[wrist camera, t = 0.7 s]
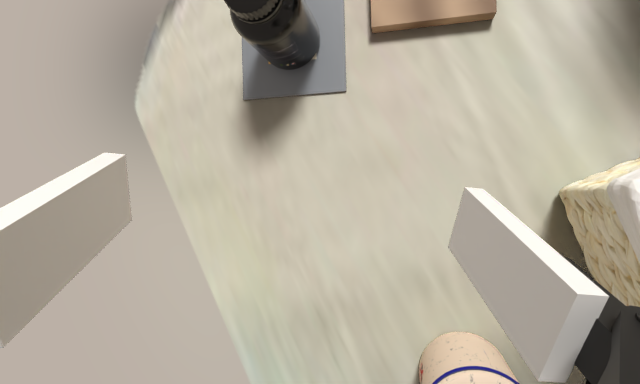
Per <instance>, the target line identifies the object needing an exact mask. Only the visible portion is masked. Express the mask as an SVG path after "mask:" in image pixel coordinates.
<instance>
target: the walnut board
mask: <svg viewBox="0 0 640 384" xmlns="http://www.w3.org/2000/svg"><path fill="white" fill-rule="evenodd" d="M496 12H497V11H496V0H371V28H372V33H380V32H388V31H397V30H405V29H414V28H422V27H430V26H439V25H447V24H456V23H464V22H473V21H481V20H490V19H493V18H494V16H495V14H496Z"/></svg>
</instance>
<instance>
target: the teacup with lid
mask: <svg viewBox="0 0 640 384" xmlns="http://www.w3.org/2000/svg"><path fill="white" fill-rule="evenodd" d="M419 379H420V384H519V382H518V381H517V379H516V377H515V376H514V374H513V373H512V371H511V369H510V368H509V366H508V365H507V363H506V361H505V360H504V358H503V356H502V355H501V353H500V352H499V351H498V350H497V349H496V347H495V346H493V345H492V344H491V343H490V342H489V341H487V340H486V339H484V338H482V337H480V336H478V335H475V334H472V333H468V332H450V333H446V334H443V335H441V336H439V337H437V338H436V339H434V340H433V341H432V342H431V343H430V344H429V345H428V346H427V347H426V348H425V350H424V352H423V354H422V356H421V359H420V363H419Z"/></svg>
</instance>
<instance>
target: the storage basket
mask: <svg viewBox="0 0 640 384" xmlns="http://www.w3.org/2000/svg"><path fill="white" fill-rule="evenodd" d="M559 195H560V198H561V199H562V201H563V203H564V205H565V210H566V212H567V217H568V220H569V222H570V223H571V225H572V226H573V230H574V233H575V236H576V239H577V240H578V242H579V244H580V246H581V249H582V251H583V252H584V256H585V261H586V265H587V267H588V269H589V271H590V273H591V274H592V276H593V278H594V279H595V280H596V281H597V282H598V283H599V284H600V285H602V286H603V287H604V288H605V289H606V290H608V291H609V292H610V293H611V294H612V295H613V296H615V297H616V298H617V299H618V300H619V301H621V302H622V303H623V304H624V305H625V306H630V305H631V306H638V307H640V157H639V158H638V159H636V160H630V161H627V162H624V163H621V164H618V165H616V166H614V167H612V168H610V169H608V170H607V171H604V172H600V173H596V174H594V175H591V176H589V177H587V178H585V179H584V180H579V181H576V182H574V183H571V184H569V185H567V186H565V187H564V188H562V189H561V190H560V191H559Z"/></svg>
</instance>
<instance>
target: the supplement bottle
mask: <svg viewBox="0 0 640 384" xmlns="http://www.w3.org/2000/svg"><path fill="white" fill-rule="evenodd" d="M224 1H225V3H226V4H227V6H228V7H229V8H230V15H231V20H232V23H233V25H234V27H235V29H236V30H237V32H238V33H239V34H240V35H241V36H242V37H243V38H244V39H245V40H246V41H247V42H248V43H249V44H250V45H251V46H252V47H253V48H255V49H256V50H257V51H258V52H259V53H260V54H261V55H262V56H263V57H264V58H265V59H266V60H268V61H269V62H270V63H271V64H272V65H274V66H276V67H277V68H280V69H284V70H294V69H298V68H300V67H303V66H304V65H306V64H307V63H308V62H309V61H310V60H311V59H312V58H313V57H314V55H315V54H316V52H317V50H318V47H319V43H320V31H319V27H318V24H317V22H316V20H315V18H314V16H313V14H312V12H311V10H310V9H309V7H308V5H307V3H306V1H305V0H224Z"/></svg>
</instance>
